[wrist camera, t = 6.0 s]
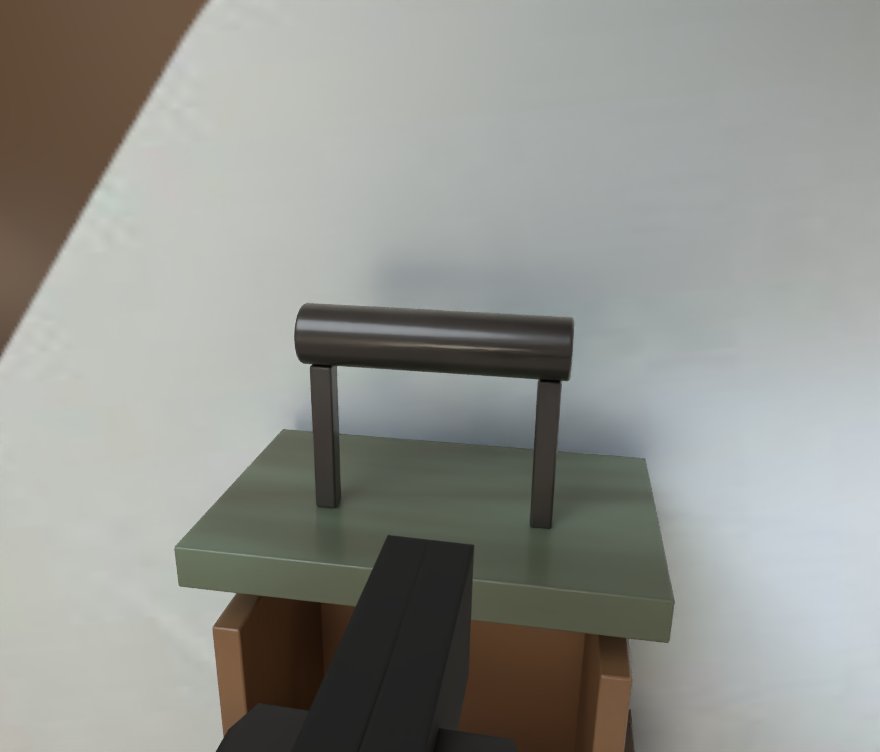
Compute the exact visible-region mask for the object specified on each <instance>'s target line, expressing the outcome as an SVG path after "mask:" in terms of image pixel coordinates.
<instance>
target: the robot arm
mask: <svg viewBox="0 0 880 752" xmlns="http://www.w3.org/2000/svg"><path fill="white" fill-rule="evenodd" d="M473 563H474V545H472V544H463V543H454V542H446V541H437V540H428V539H419V538H410V537H402V536H393V535H387V538H386V540H385V542H384V544H383V546H382V549H381V551H380V553H379V555H378V558H377V560H376V562H375V564H374V567H373V569H372V571H371V573H370V576H369V578H368V580H367V582H366V585H365V587H364V589H363V591H362V594H361V596H360V598H359V600H358V602H357V605H356V607H355V609H354V611H353V614H352V616H351V618H350V620H349V623H348V625H347V627H346V629H345V632H344V634H343V636H342V638H341V641H340V643H339V645H338V647H337V649H336V652H335V654H334V656H333V658H332V661H331V663H330V665H329V667H328V670H327V672H326V674H325V676H324V679H323V681H322V683H321V685H320V688H319V690H318V692H317V694H316V697H315V699H314V701H313V703H312V705H311V708H310V710H309V711H308V710H301V709H295V708H288V707H282V706H275V705H268V704H262V703H258V704H257V705H256V706H255V707H253V708H252V709H251V710H250V711H249V712H248V713H247V714H245V715H244V716H243V717H242V718H241V719H240V720H239V721H237V722H236V723H235V724H234V725H233V726H232V727H230V728H229V729H228V731H227V733H226V734H225V736H224V738H223V740H222V742H221V743H220V745H219V747H218V749H217V750H216V752H518V750H517V747H516V745H515V742H514V739H508V738H502V737H495V736H488V735H482V734H475V733H469V732H462V731H458V727H459V722H460V717H461V712H462V706H463V701H464V696H465V691H466V686H467V681H468V675H469V653H470V630H471V608H472V586H473Z"/></svg>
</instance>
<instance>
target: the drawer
mask: <svg viewBox="0 0 880 752" xmlns="http://www.w3.org/2000/svg"><path fill="white" fill-rule="evenodd" d="M573 337H574V319H573V318H572V317H556V316H537V315H519V314H500V313H482V312H463V311H444V310H426V309H407V308H389V307H370V306H351V305H333V304H314V303H306V304H304V305H303V306H302V307H301V308H300V310H299V312H298V315H297V319H296V324H295V334H294V340H295V349H296V354H297V357H298V359H299V361H300V362H302V363H304V364H312V365H311V366H310V382H311V403H312V425H313V432H311V431H298V430H286V429H283V430H282V431H281V432H280V433H279V434H278V435H277V436H276V437H275V439H274V440H273V441H272V442H271V443H270V444H269V445H268V446H267V447H266V448H265V449H264V450H263V452H262V453H261V454H260V455H259V456H258V457H257V458H256V459H255V460H254V461H253V462H252V464H251V465H250V466H249V467H248V468H247V469H246V470H245V471H244V472H243V473H242V474H241V475H240V477H239V478H238V479H237V480H236V481H235V482H234V483H233V484H232V485H231V486H230V487H229V488H228V490H227V491H226V492H225V493H224V494H223V495H222V496H221V497H220V498H219V499H218V500H217V502H216V503H215V504H214V505H213V506H212V507H211V508H210V509H209V510H208V511H207V512H206V513H205V515H204V516H203V517H202V518H201V519H200V520H199V521H198V522H197V523H196V524H195V525H194V526H193V528H192V529H191V530H190V531H189V532H188V533H187V534H186V535H185V536H184V537H183V538H182V540H181V541H180V542H179V543H178V544H177V545H176V546H175V557H176V566H177V574H178V583H179V586H181V587H190V588H198V589H207V590H216V591H224V592H233V593H236V595H235V596H234V597H233V599H232V600H231V602H230V603H229V605H228V606H227V607H226V609H225V610H224V612H223V613H222V614H221V616H220V617H219V619H218V620H217V622H216V623H215V624H214V626H213V638H214V647H215V657H216V667H217V677H218V686H219V696H220V706H221V715H222V725H223V735H224V736H225V734H226V733H227V731H228V729H229V728H230V727H232V726H233V725H234V724H235V723H236V722H237V721H239V720H240V719H241V718H242V717H243V716H244V715H245V714H247V713H248V712H249V711H250V710H251V709H252V708H253V707H255V706H256V705H257V704H258V703H262V704H268V705H275V706H282V707H288V708H295V709H301V710H308V711H309V710H310V708H311V705H312V703H313V701H314V699H315V697H316V694H317V692H318V690H319V688H320V685H321V683H322V681H323V679H324V676H325V674H326V672H327V670H328V667H329V665H330V663H331V661H332V658H333V656H334V654H335V652H336V649H337V647H338V645H339V643H340V641H341V638H342V636H343V634H344V632H345V629H346V627H347V625H348V623H349V620H350V618H351V616H352V614H353V611H354V609H355V607H356V605H357V602H358V600H359V598H360V596H361V594H362V591H363V589H364V587H365V585H366V582H367V580H368V578H369V576H370V573H371V571H372V569H373V567H374V564H375V562H376V560H377V558H378V555H379V553H380V551H381V549H382V546H383V544H384V542H385V540H386V538H387V535H393V536H402V537H410V538H419V539H428V540H437V541H446V542H454V543H463V544H472V545H474V563H473V586H472V608H471V630H470V653H469V675H468V681H467V686H466V691H465V696H464V701H463V706H462V712H461V717H460V722H459V727H458V731H462V732H469V733H475V734H482V735H488V736H495V737H502V738H508V739H514V742H515V745H516V747H517V750H518V752H624V747H625V739H626V730H627V722H628V713H629V705H630V696H631V688H632V670H631V661H630V651H629V641H628V638H630V639H639V640H647V641H656V642H665V643H668V642H669V640H670V632H671V625H672V618H673V610H674V603H675V601H674V596H673V591H672V586H671V581H670V576H669V572H668V567H667V562H666V557H665V552H664V547H663V542H662V537H661V532H660V528H659V523H658V518H657V513H656V508H655V503H654V498H653V493H652V488H651V484H650V479H649V474H648V469H647V464H646V459H644V458H634V457H622V456H609V455H597V454H584V453H572V452H559V451H557V445H558V430H559V416H560V402H561V387H562V381H569V380H570V377H571V366H572V352H573ZM337 366H346V367H361V368H377V369H392V370H407V371H422V372H437V373H452V374H467V375H482V376H497V377H512V378H527V379H538V386H537V404H536V421H535V438H534V449H522V448H510V447H497V446H485V445H472V444H460V443H447V442H435V441H423V440H410V439H398V438H385V437H373V436H360V435H348V434H339V418H338V388H337Z"/></svg>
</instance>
